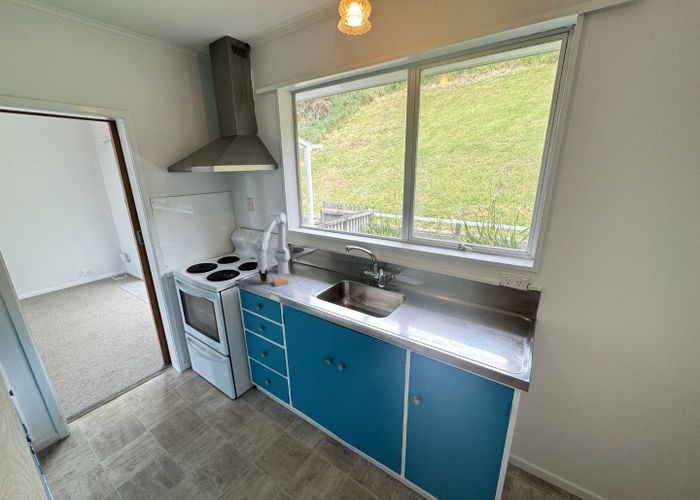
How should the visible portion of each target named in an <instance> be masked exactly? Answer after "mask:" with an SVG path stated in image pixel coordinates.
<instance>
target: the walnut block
mask: <svg viewBox="0 0 700 500" xmlns="http://www.w3.org/2000/svg"><path fill="white" fill-rule="evenodd" d="M259 281H260V282H259V283H260V284H261V285H262V284H268V283H269V282H268V281H269V280H268V275H267V276H266V281H265V282H262V279H261V276H260V275H259Z"/></svg>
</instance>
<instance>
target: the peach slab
mask: <svg viewBox="0 0 700 500" xmlns="http://www.w3.org/2000/svg"><path fill="white" fill-rule="evenodd" d="M271 279H272V284H273V285H274V286H275V287H276V286H277V287H281V286H286V285H289V282H288V281H289V280H288V279H287V278H286V277H285V276H281V277H275V278H271Z"/></svg>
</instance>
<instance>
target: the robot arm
mask: <svg viewBox="0 0 700 500" xmlns="http://www.w3.org/2000/svg"><path fill="white" fill-rule="evenodd" d="M267 219H268V223H267V225H266V228H265V230H264V231H262V232H261V235H260V237H259V239H258V241H257V242H255V244H254V247H253V249H254V250H255V254H256V259H257V260H256V262H257V266H256V267H255V268H256V269H258V274H259V277H260V276H261V279H262V282H265V281H266V276H267V277H268V272H269V271H268V268H269V266H268V258H267V250H268V248H269V247H268V246H269V241H270V239H271V237H272V236H271V233H272V231H273V229H275V228H274V227H276V226H277V248H276V249H275V252H274V259H275V260H276V262H277V270H276V271H277V275H278V276H280V275H288V274H290V270H289V260H290V258H291V253H290V249H288V248H287V245H286V244H287V241H286V240H287V239H286V238H287V234H286V230H287V229H286V224H287V215H286V214H285V213H284V212H273V211H272V212H270V213H269V215H268V217H267Z"/></svg>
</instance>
